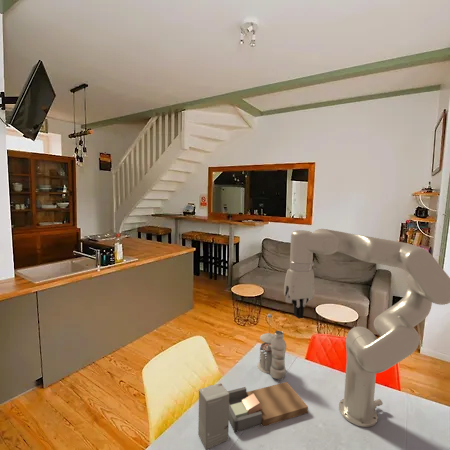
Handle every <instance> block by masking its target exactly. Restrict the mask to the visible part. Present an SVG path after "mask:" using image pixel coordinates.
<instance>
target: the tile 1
mask: <svg viewBox="0 0 450 450" xmlns="http://www.w3.org/2000/svg"><path fill="white" fill-rule="evenodd" d="M230 406H231V408H232V410H233V412H234V414H235V415H236V417H237V418H239V417H242V416H246V415H248V412H247V410H246V408H245V406H244V405H243V403H242V402H240V403H236V404H232V405H230Z"/></svg>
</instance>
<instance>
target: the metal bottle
mask: <svg viewBox="0 0 450 450" xmlns="http://www.w3.org/2000/svg"><path fill="white" fill-rule="evenodd" d="M274 337H275V338H274V339H273V340H272V341H271V351H272V361H271V367H270V376H271V377H272V378H273V379H275V380H276V381H277V380H279V381H281V380H284V378H285V377H286V373H287V371H286V362H285V359H286V358H285V357H286V351H287V343H286V340H285V339H284V338H285V335H284V332H283V331H282V330H275V331H274Z"/></svg>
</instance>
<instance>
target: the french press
mask: <svg viewBox="0 0 450 450" xmlns="http://www.w3.org/2000/svg"><path fill="white" fill-rule="evenodd" d="M272 317H273V315H272V314H271V313H268V314H267V318H269V325H268V332H267V333H263V334H261V335H260V336H259V339H260V341H261V342H262V344H260V348H259V362H258V363H257V369H258V370H259V371H260V372H262V373H264V374H270V367H271V361H272V351H271V341H272V340H273V339H274V338H275V337H274V335H275V333H270V331H271V330H270V329H271V327H270V326H271V318H272ZM270 375H271V374H270Z"/></svg>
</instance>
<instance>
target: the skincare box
mask: <svg viewBox="0 0 450 450" xmlns="http://www.w3.org/2000/svg"><path fill="white" fill-rule="evenodd" d="M227 391H228V390H227V389H226V387H225V386H224V385H223V384H222V383H221V382H220V383H217V384H213V385H212V384H211V385H208V386H206V387H203V388H199V389H198V423H197V424H198V427H197V428H198V431H197V433H198V437H199V439H200V440H201V442H202V444H203V446H204V448H205V450H209V449H211V448H213V447H215V446H218V445H220V444H222V443H224V442H226V441H228V440H229V428H230V425H229V424H230V422H229V393H228V392H227Z"/></svg>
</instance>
